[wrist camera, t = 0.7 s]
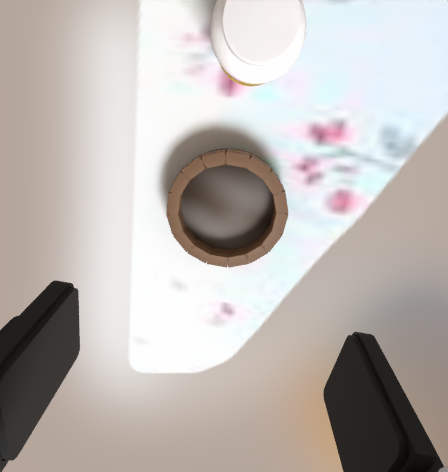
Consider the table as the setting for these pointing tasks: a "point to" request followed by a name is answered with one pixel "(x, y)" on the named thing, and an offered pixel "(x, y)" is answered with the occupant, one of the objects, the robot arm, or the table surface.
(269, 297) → the table surface
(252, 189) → the ring holder
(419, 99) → the table surface
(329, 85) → the table surface
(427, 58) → the table surface
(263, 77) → the supplement bottle
